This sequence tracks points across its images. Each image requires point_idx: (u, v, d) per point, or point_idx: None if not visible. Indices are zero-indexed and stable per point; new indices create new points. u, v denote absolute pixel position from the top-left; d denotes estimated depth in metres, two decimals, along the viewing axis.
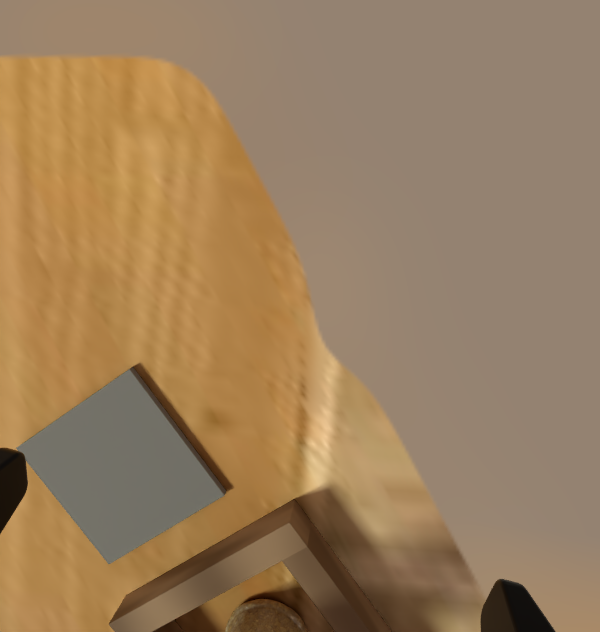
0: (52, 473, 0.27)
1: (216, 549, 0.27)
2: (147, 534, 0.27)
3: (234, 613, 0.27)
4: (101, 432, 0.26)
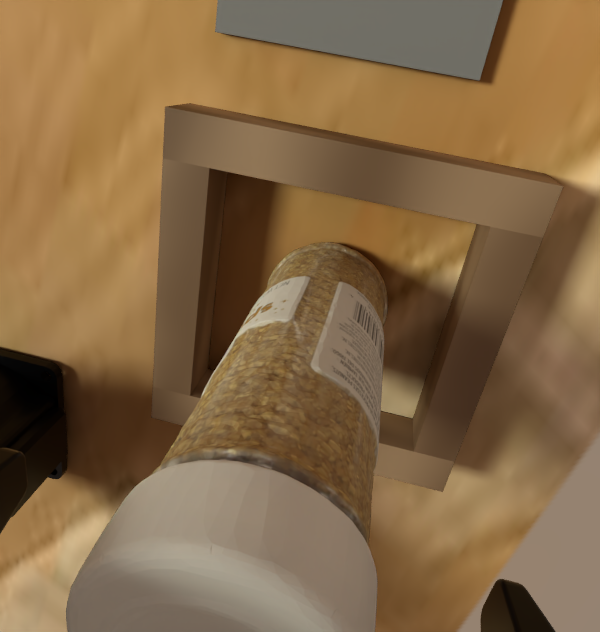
0: None
1: (388, 144, 0.16)
2: (314, 37, 0.15)
3: (320, 245, 0.18)
4: None
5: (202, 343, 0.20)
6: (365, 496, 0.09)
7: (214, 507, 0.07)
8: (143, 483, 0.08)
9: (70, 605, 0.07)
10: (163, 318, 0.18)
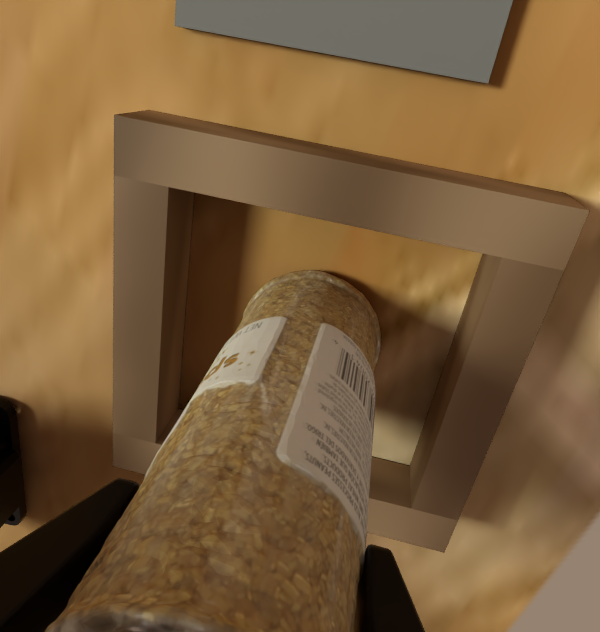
0: None
1: (380, 159, 0.14)
2: (291, 31, 0.13)
3: (302, 273, 0.15)
4: None
5: (169, 383, 0.17)
6: None
7: None
8: None
9: None
10: (122, 358, 0.16)
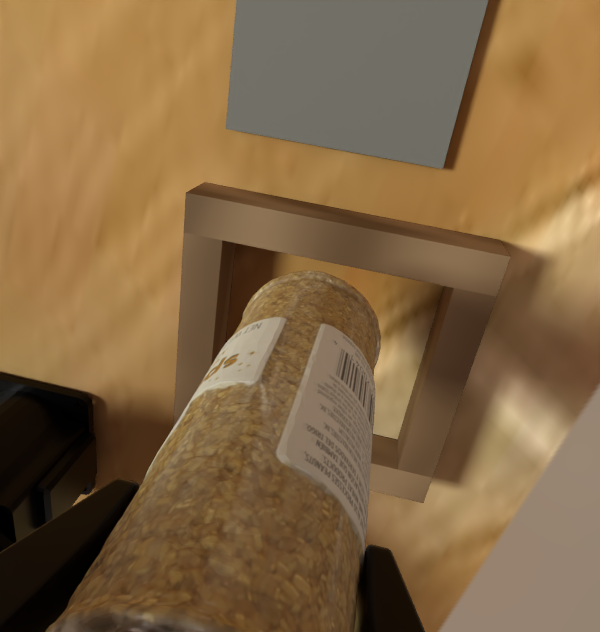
0: None
1: (370, 218, 0.19)
2: (307, 134, 0.19)
3: (302, 274, 0.15)
4: None
5: None
6: None
7: None
8: None
9: None
10: (183, 360, 0.22)
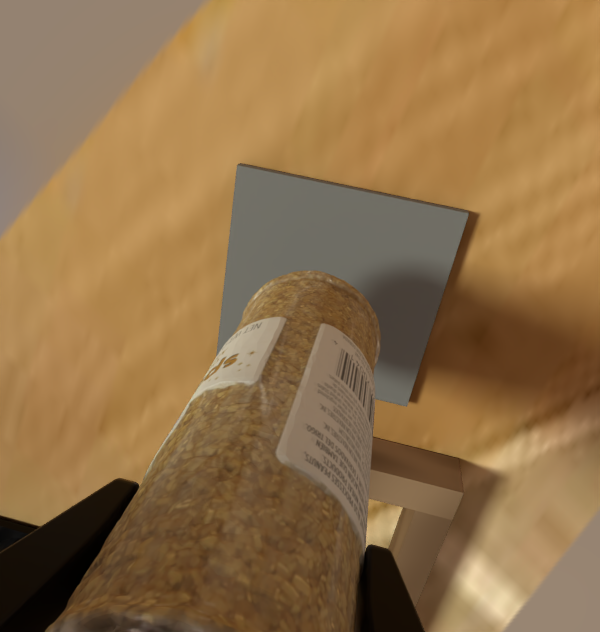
0: (251, 229, 0.19)
1: None
2: None
3: (302, 274, 0.15)
4: (356, 243, 0.18)
5: None
6: None
7: None
8: None
9: None
10: None
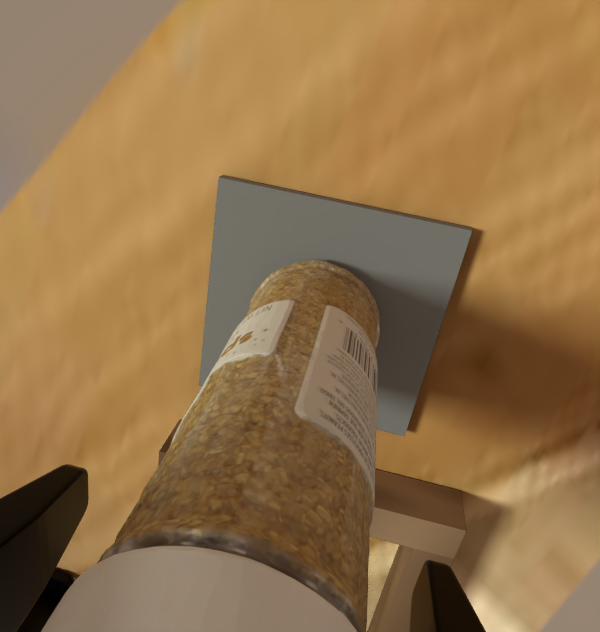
0: (235, 246, 0.17)
1: None
2: None
3: (306, 263, 0.16)
4: (349, 262, 0.17)
5: None
6: (361, 571, 0.08)
7: (170, 619, 0.05)
8: (87, 575, 0.07)
9: None
10: None
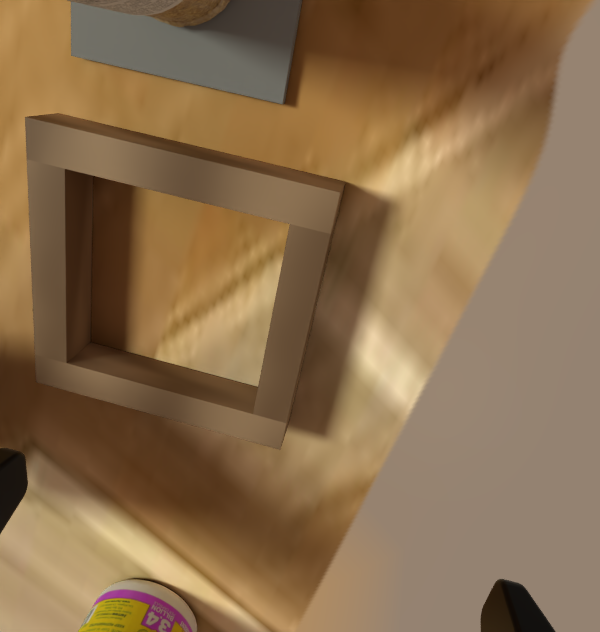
0: None
1: (216, 154, 0.19)
2: (150, 63, 0.18)
3: None
4: None
5: (78, 318, 0.23)
6: None
7: None
8: None
9: None
10: (38, 295, 0.22)
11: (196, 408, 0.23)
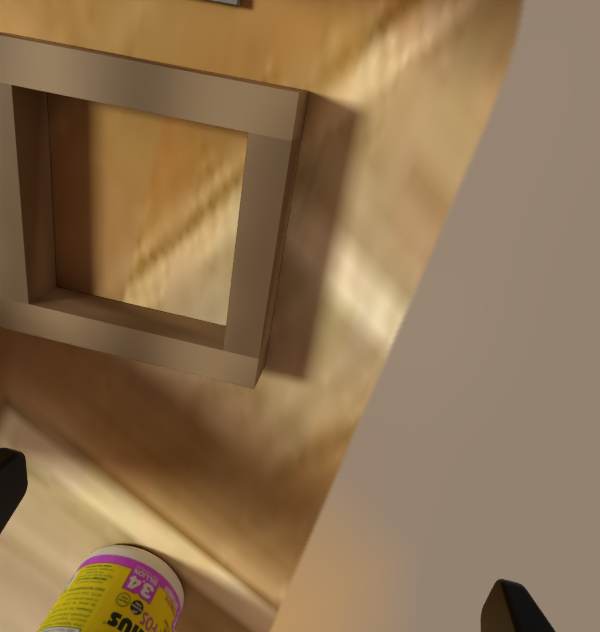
0: None
1: (170, 65, 0.18)
2: None
3: None
4: None
5: (40, 257, 0.22)
6: None
7: None
8: None
9: None
10: None
11: (164, 347, 0.22)
